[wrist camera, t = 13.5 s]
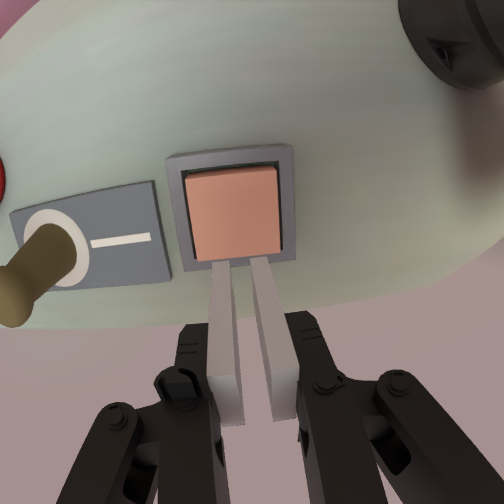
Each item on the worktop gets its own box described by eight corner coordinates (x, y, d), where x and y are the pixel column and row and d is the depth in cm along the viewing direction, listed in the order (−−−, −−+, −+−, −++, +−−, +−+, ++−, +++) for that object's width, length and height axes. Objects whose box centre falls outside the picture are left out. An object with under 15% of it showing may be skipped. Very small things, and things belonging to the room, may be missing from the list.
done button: (270, 164, 24) (276, 170, 21) (274, 238, 27) (280, 252, 24) (189, 172, 23) (184, 179, 21) (200, 246, 26) (197, 261, 24)
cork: (53, 282, 27) (5, 345, 17) (25, 238, 24) (-35, 290, 15) (87, 262, 26) (37, 329, 16) (57, 212, 24) (-10, 263, 14)
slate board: (153, 180, 25) (150, 182, 24) (172, 276, 29) (170, 282, 28) (13, 211, 24) (8, 214, 23) (39, 288, 28) (35, 292, 27)
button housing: (284, 143, 25) (291, 146, 22) (288, 246, 29) (295, 259, 26) (171, 155, 24) (165, 159, 21) (187, 256, 28) (184, 271, 26)
